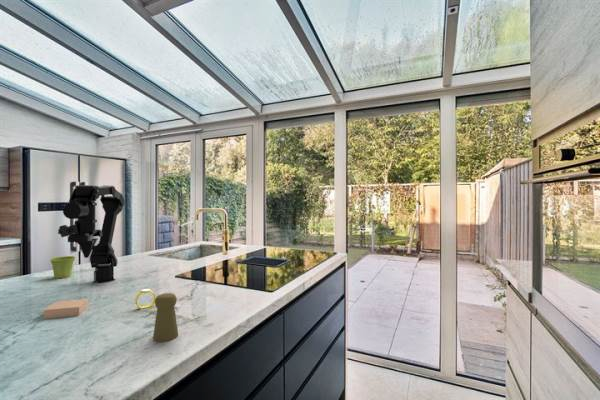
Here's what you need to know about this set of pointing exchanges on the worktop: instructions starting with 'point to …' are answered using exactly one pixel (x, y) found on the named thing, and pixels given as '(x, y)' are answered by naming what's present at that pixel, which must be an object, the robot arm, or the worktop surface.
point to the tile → (66, 308)
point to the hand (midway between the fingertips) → (86, 257)
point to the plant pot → (62, 266)
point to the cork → (165, 318)
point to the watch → (145, 292)
